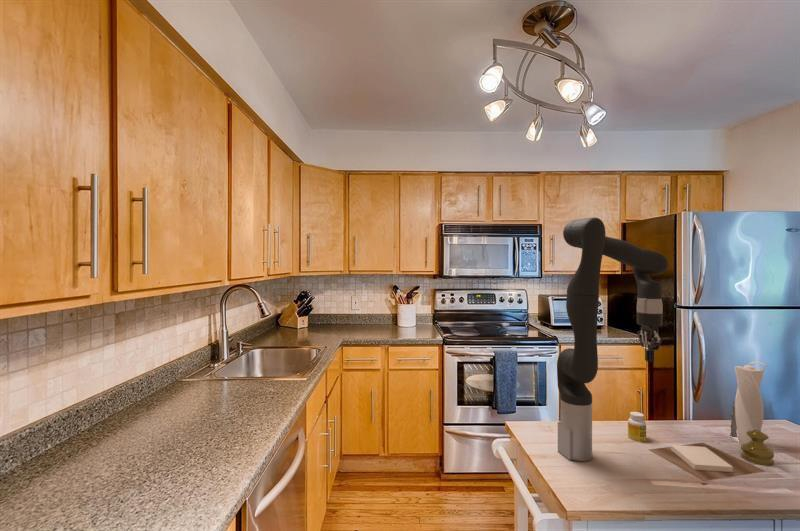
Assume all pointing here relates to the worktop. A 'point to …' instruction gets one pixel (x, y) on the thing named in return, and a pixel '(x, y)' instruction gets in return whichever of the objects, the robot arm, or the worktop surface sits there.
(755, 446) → the brass knob
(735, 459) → the board
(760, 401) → the skyscraper
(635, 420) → the supplement bottle
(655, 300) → the robot arm
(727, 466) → the tile
